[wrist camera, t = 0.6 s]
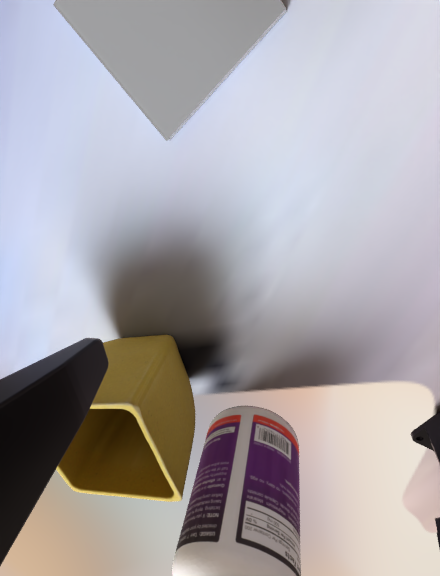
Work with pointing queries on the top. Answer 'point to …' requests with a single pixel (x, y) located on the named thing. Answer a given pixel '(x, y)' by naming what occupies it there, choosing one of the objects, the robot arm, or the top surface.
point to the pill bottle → (244, 500)
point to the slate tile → (170, 47)
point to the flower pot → (136, 425)
